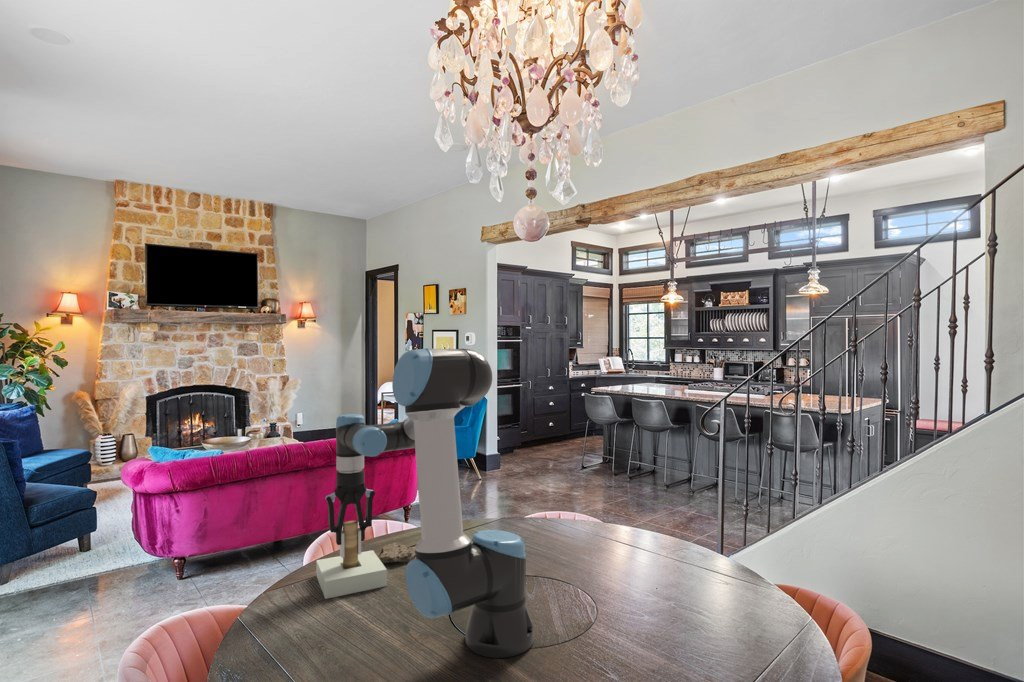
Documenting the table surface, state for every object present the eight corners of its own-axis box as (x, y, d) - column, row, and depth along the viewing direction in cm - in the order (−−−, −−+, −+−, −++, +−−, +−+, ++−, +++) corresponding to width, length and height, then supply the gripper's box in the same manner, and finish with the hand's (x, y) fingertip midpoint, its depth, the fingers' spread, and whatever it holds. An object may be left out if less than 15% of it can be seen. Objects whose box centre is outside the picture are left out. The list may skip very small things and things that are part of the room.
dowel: (359, 567, 151) (359, 524, 151) (344, 570, 149) (344, 526, 149) (356, 562, 154) (356, 519, 154) (341, 565, 153) (341, 522, 153)
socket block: (386, 585, 148) (386, 569, 148) (325, 598, 141) (325, 581, 141) (372, 565, 162) (372, 550, 162) (316, 576, 155) (316, 560, 155)
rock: (411, 567, 161) (411, 553, 161) (374, 567, 161) (374, 552, 161) (419, 554, 171) (419, 540, 172) (384, 554, 172) (384, 540, 172)
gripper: (377, 464, 159) (377, 544, 159) (316, 470, 151) (316, 555, 151) (383, 469, 152) (384, 553, 152) (320, 476, 145) (320, 564, 144)
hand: (350, 554), depth 152 cm, fingers closed on dowel, 4 cm apart
